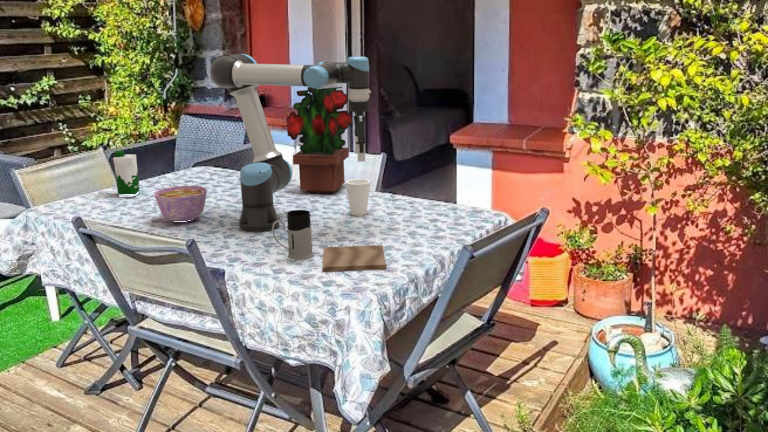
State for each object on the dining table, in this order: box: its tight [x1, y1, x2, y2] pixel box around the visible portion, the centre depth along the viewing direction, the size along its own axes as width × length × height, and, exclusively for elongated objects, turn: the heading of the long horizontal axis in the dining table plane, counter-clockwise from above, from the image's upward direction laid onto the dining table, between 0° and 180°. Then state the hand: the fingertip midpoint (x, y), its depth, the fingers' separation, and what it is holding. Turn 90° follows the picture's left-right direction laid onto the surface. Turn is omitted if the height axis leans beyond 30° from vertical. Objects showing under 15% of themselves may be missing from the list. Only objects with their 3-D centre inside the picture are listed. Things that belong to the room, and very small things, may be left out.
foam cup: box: [345, 178, 371, 217], centre depth 308 cm, size 10×9×13 cm
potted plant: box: [286, 86, 352, 195], centre depth 341 cm, size 22×22×45 cm
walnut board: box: [322, 244, 387, 273], centre depth 256 cm, size 20×20×2 cm
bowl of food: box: [153, 185, 208, 222], centre depth 305 cm, size 20×20×12 cm
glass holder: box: [271, 209, 315, 261], centre depth 258 cm, size 9×14×15 cm, turn 125°
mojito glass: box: [112, 150, 140, 195], centre depth 343 cm, size 9×9×20 cm
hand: (360, 157), depth 289 cm, fingers open, 13 cm apart
